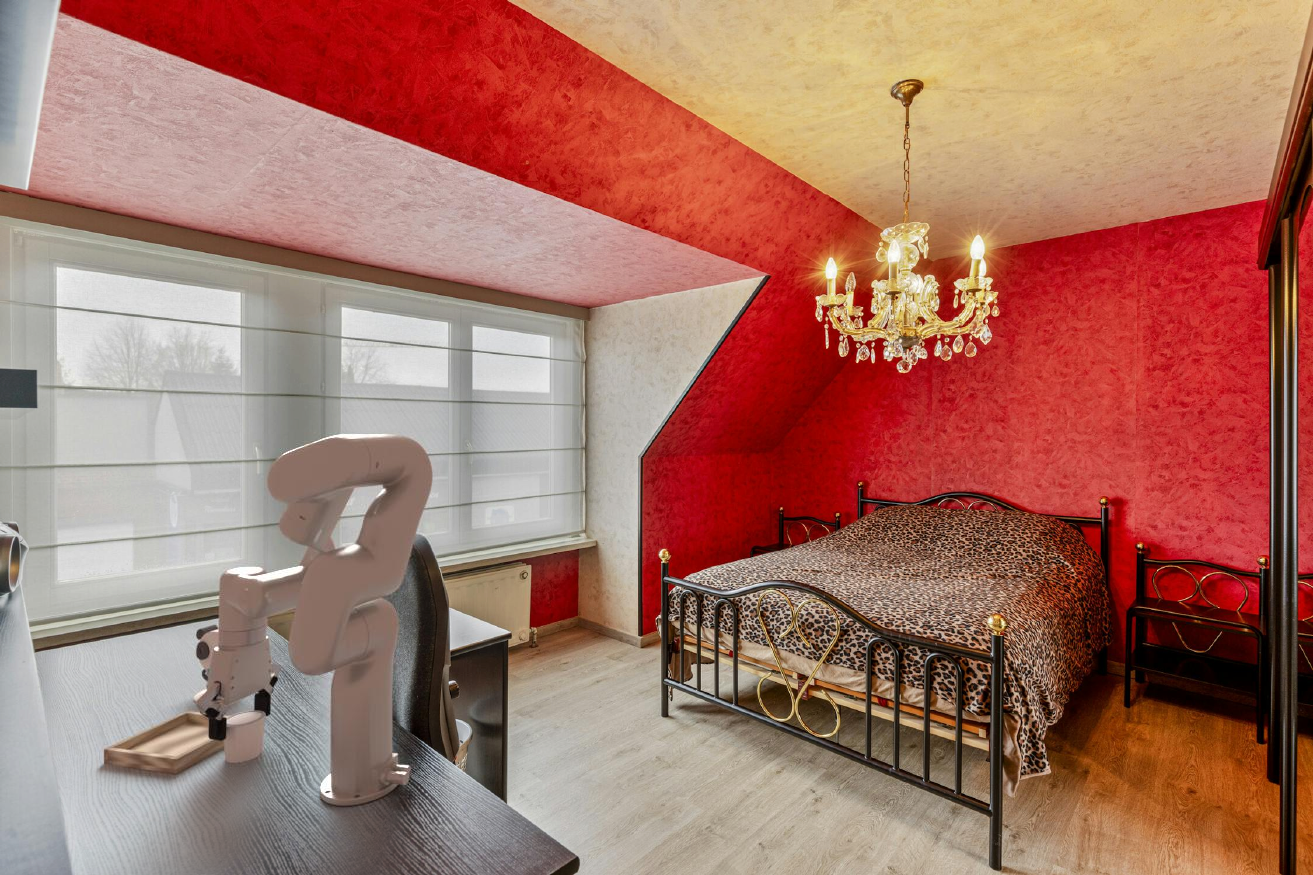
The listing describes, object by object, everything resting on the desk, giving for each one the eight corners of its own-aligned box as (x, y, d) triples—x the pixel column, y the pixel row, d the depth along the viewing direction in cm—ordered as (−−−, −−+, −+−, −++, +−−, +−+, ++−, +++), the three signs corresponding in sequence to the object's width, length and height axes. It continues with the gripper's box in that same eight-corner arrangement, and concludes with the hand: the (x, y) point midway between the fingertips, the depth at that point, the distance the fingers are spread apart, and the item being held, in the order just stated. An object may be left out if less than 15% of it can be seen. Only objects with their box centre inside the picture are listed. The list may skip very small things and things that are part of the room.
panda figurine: (179, 699, 140) (179, 633, 140) (227, 680, 151) (227, 618, 151) (219, 707, 136) (219, 638, 136) (265, 686, 147) (265, 623, 147)
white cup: (244, 766, 112) (243, 727, 112) (211, 762, 114) (211, 724, 114) (274, 747, 119) (274, 711, 119) (243, 744, 120) (243, 707, 120)
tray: (252, 731, 125) (252, 718, 125) (176, 773, 110) (176, 759, 110) (187, 723, 129) (187, 710, 129) (103, 763, 113) (103, 749, 113)
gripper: (264, 619, 125) (261, 704, 126) (182, 648, 109) (179, 746, 109) (296, 623, 124) (293, 708, 124) (217, 653, 107) (215, 752, 107)
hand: (240, 726), depth 117 cm, fingers open, 9 cm apart
